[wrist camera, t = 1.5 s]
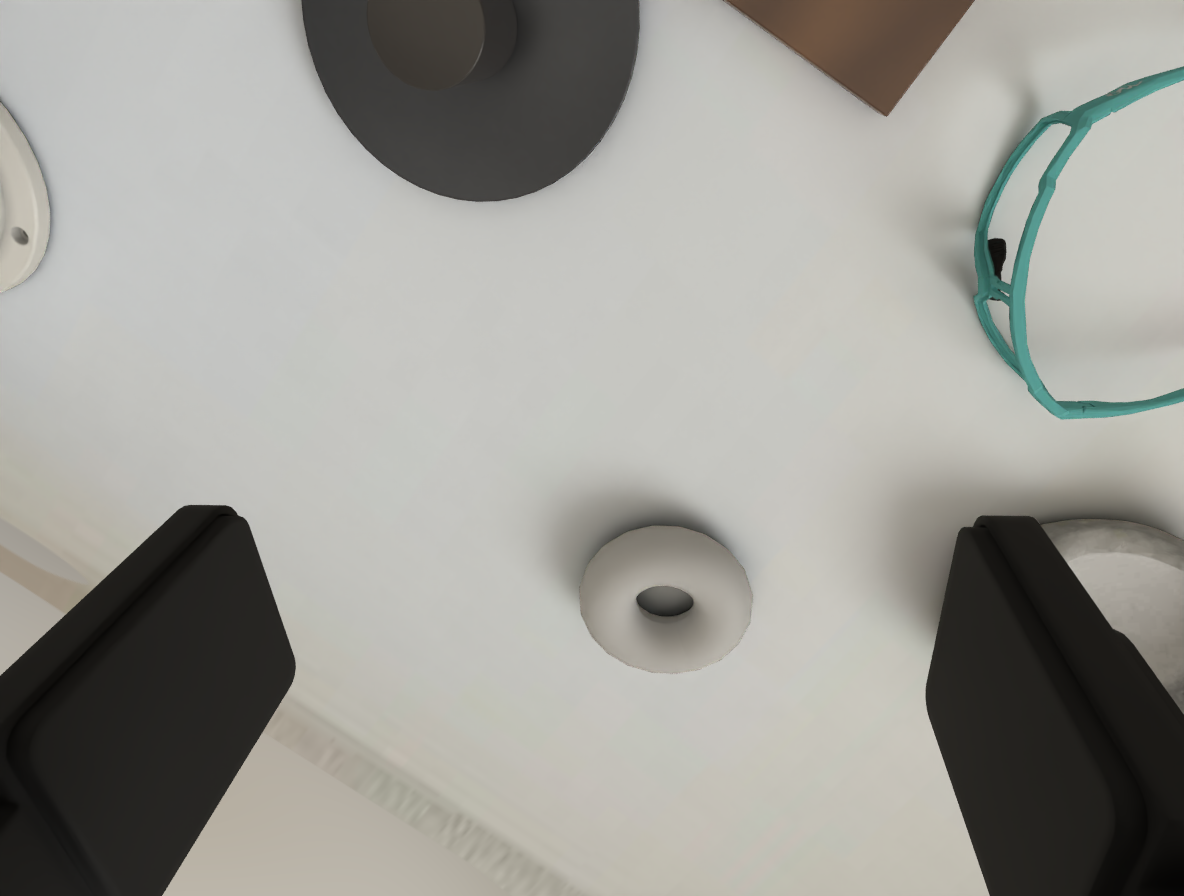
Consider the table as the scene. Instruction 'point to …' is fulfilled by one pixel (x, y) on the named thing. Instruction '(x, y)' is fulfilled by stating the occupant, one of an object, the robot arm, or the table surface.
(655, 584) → the donut
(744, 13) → the board
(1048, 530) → the dish
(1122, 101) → the sunglasses
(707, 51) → the table surface
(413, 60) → the lid
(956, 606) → the robot arm
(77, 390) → the table surface
